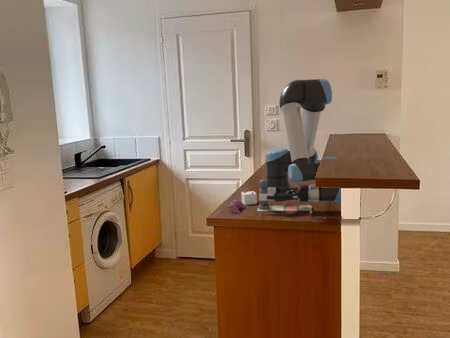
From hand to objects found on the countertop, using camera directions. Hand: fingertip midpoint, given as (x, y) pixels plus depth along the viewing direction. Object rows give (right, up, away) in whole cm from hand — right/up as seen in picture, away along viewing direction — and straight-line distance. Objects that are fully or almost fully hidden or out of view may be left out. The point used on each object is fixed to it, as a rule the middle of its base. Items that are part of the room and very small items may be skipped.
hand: (260, 193), depth 204 cm
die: (-4, -6, +13) cm, 15 cm away
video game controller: (-10, -9, 0) cm, 13 cm away
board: (+11, -8, 0) cm, 13 cm away
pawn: (+2, -7, +1) cm, 7 cm away
